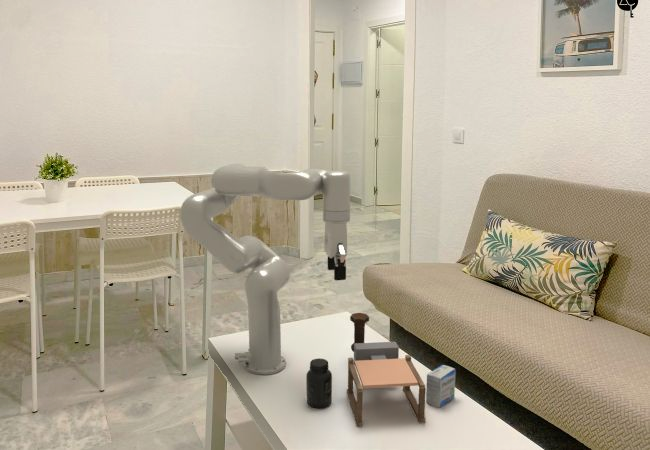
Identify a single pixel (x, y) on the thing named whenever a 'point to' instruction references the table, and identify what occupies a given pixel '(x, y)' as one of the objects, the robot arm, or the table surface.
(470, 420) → the table surface
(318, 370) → the supplement bottle
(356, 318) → the bolt
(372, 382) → the trapdoor
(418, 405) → the small wooden stool
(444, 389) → the medicine box
